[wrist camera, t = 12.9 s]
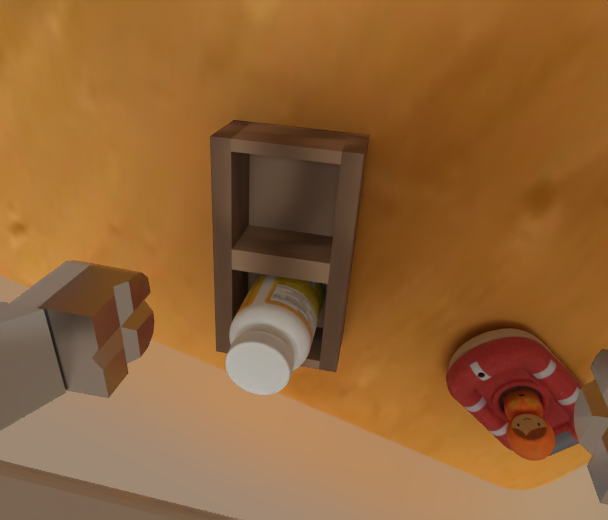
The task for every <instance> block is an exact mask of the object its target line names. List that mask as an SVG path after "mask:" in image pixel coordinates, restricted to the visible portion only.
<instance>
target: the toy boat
mask: <svg viewBox="0 0 608 520" xmlns="http://www.w3.org/2000/svg"><path fill="white" fill-rule="evenodd" d="M446 381H447V386H448V390H449V392H450V394H451V395H452V396H453V397H454V398H455V399H456V400H457V401H458V402H459V403H460V404H462V405H463V406H464V407H465V408H466V409H467V410H468V411H469V412H470V413H471V414H472V415H473V416H474V417H475V418H476V419H477V420H478V421H479V422H480V423H482V424H483V425H484V426H485V427H486V428H487V429H488V430H489V431H490V432H491V433H492V434H493V435H494V436H495V437H496V438H497V439H498V440H499V441H500V442H501V443H502V444H503V445H504V446H506V447H507V448H509V449H510V450H513V451H514V452H515V453H516V454H517V455H519V456H520V457H522V458H525V459H528V460H541V459H544V458H546V457H547V456H550V455H552V454H555V453H557V452H559V451H562V450H564V449H566V448H569V447H571V446H573V445H576V444H578V443H579V441H578V438H577V435H576V431H575V425H574V410H575V402H576V400H577V397H578V395H579V392H580V390H581V387H583V386H582V385H581V384H580V383H579V382H578V381H577V379H576V378H575V377H574V376H573V375H572V374H571V373H570V372H569V371H568V370H567V368H566V367H565V366H564V365H563V364H562V363H561V362H560V361H559V360H558V358H557V357H556V356H555V355H554V354H553V353H552V352H551V351H550V350H549V349H548V348H547V346H546V345H545V344H544V343H543V342H541V341H540V340H539V339H538V338H537V337H535V336H534V335H532V334H530V333H528V332H526V331H523V330H520V329H513V328H505V329H497V330H492V331H488V332H485V333H482V334H480V335H478V336H476V337H473V338H472V339H470V340H468V341H467V342H466V343H464V344H463V345H462V346H461V347H460V348H459V349H458V350H457V351H456V352H455V353H454V355H453V356H452V358H451V360H450V362H449V366H448V372H447V376H446Z"/></svg>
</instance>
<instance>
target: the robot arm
mask: <svg viewBox="0 0 608 520" xmlns="http://www.w3.org/2000/svg"><path fill="white" fill-rule="evenodd" d="M149 294H150V286H149V281H148V277H147V276H146V275H144V274H143V273H141V272H136V271H131V270H125V269H120V268H115V267H109V266H104V265H99V264H93V263H87V262H81V261H66V262H65V263H63V264H62V265H61V266H59V267H58V268H57V269H55V270H54V271H53V272H51V273H50V274H48V275H47V276H46V277H44V278H43V279H42V280H40V281H39V282H38V283H36V284H35V285H34V286H32V287H31V288H30V289H28V290H27V291H26V292H24V293H23V294H21V295H20V296H19V297H17V298H16V299H15V300H13V301H12V302H11V303H7V302H0V430H2V429H4V428H6V427H7V426H9V425H11V424H13V423H14V422H16V421H18V420H19V419H21V418H23V417H25V416H26V415H28V414H30V413H32V412H33V411H35V410H37V409H38V408H40V407H42V406H44V405H45V404H47V403H49V402H50V401H52V400H54V399H56V398H57V397H59V396H61V395H63V394H64V393H66V390H68V391H73V392H78V393H84V394H90V395H95V396H100V397H106V398H109V397H110V395H111V394H112V393H113V392H114V391H115V389H116V388H117V387H118V386H119V384H120V383H121V382H122V380H123V379H124V378H125V377H126V375H127V374H128V367H127V363H129V362H131V361H133V360H136V359H138V358H140V357H141V356H142V355H143V353H144V352H145V351H146V349H147V348H148V346H149V343H150V341H151V338H152V335H153V330H154V315H153V311H152V309H151V308H150V307H149V306H148V304H147V303H146V302H145V299H146V298H147V296H148V295H149ZM590 368H591V370H592V372H593V375H594V377H595V380H594V381H592V382H590V383H588V384H587V385H585V386H583V387H581V390H580V392H579V395H578V397H577V400H576V402H575V410H574V425H575V431H576V435H577V438H578V441H579V443H580V444H581V445H582V446H583V447H584V448H585V449H586V450H587V451H588V452H589V453H590V454H591V455H592V457H591V459H590V461H589V463H588V465H587V467H588V470H589V473H590V475H591V478H592V481H593V484H594V487H595V489H596V492H597V495H598V498H599V501H600V503H604V504H608V350H605V349H602V350H601V351H600V352H599V353H598V354H597V355H596V357H595V359H594V361H593V363H592V365H591V367H590ZM0 520H241V519H236V518H233V517H228V516H224V515H220V514H216V513H212V512H208V511H204V510H200V509H196V508H192V507H188V506H184V505H180V504H176V503H172V502H168V501H164V500H159V499H155V498H151V497H147V496H143V495H139V494H135V493H131V492H127V491H123V490H119V489H115V488H110V487H107V486H103V485H99V484H95V483H90V482H86V481H82V480H78V479H74V478H70V477H66V476H62V475H58V474H54V473H50V472H45V471H42V470H38V469H33V468H29V467H25V466H21V465H17V464H13V463H9V462H5V461H1V460H0Z"/></svg>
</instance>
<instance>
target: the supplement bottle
mask: <svg viewBox="0 0 608 520" xmlns="http://www.w3.org/2000/svg"><path fill="white" fill-rule="evenodd" d="M324 298H325V286H324V283H319V282H312V281H305V280H299V279H292V278H286V277H279V276H273V275H266V274H259V275H258V276H257V278H256V280H255V282H254V283H253V285H252V287H251V289H250V291H249V292H248V294H247V296H246V298H245V300H244V301H243V303H242V305H241V307H240V309H239V310H238V312H237V314H236V316H235V317H234V319H233V321H232V324H231V327H230V333H229V338H230V344H231V347H230V349H229V351H228V354H227V356H226V361H225V365H226V370H227V372H228V374H229V376H230V378H231V379H232V380H233V381H234V383H235V384H237V385H238V386H239V387H240V388H242V389H244V390H246V391H248V392H250V393H254V394H259V395H269V394H274V393H277V392H279V391H280V390H282V389H283V388H284V387H285V386H286V385H287V383H288V381H289V379H290V376H291V374H292V371H294V370H295V369H297V368H298V367H299V366H300V365H301V364H302V363H303V362H304V361H305V359H306V358H307V356H308V354H309V351H310V348H311V344H312V341H313V337H314V334H315V330H316V326H317V323H318V319H319V316H320V312H321V309H322V305H323V302H324Z"/></svg>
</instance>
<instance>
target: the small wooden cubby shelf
mask: <svg viewBox="0 0 608 520" xmlns="http://www.w3.org/2000/svg"><path fill="white" fill-rule="evenodd" d="M368 140H369V135H363V134H354V133H345V132H336V131H327V130H318V129H309V128H300V127H291V126H282V125H273V124H264V123H255V122H246V121H237V120H233V121H232V122H230V123H229V124H228V125H226V126H225V127H223V128H222V129H220V130H219V131H217V132H216V133H214V134H213V135H211V136H210V147H211V182H212V218H213V253H214V288H215V324H216V351H218V352H224V353H228V351H229V349H230V347H231V344H230V338H229V333H230V327H231V324H232V321H233V319H234V317H235V316H236V314H237V312H238V310H239V309H240V307H241V305H242V303H243V301H244V300H245V298H246V296H247V294H248V292H249V291H250V289H251V287H252V285H253V283H254V282H255V280H256V278H257V276H258V275H259V274H266V275H273V276H279V277H286V278H292V279H299V280H305V281H312V282H319V283H324V286H325V298H324V302H323V305H322V309H321V312H320V316H319V319H318V323H317V326H316V330H315V334H314V337H313V341H312V344H311V348H310V351H309V354H308V356H307V358H306V359H305V361H304V362H303V363H302V364H301V365H300V366H304V367H309V368H315V369H321V370H326V371H332V372H336V370H337V364H338V359H339V353H340V348H341V343H342V337H343V330H344V323H345V315H346V308H347V300H348V292H349V285H350V277H351V269H352V262H353V254H354V247H355V239H356V231H357V224H358V216H359V208H360V201H361V193H362V186H363V178H364V170H365V163H366V155H367V147H368Z"/></svg>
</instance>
